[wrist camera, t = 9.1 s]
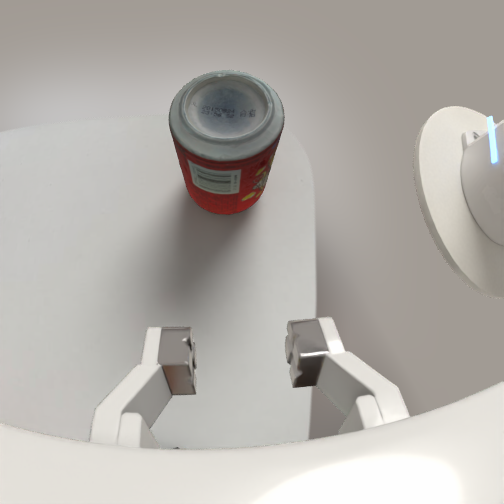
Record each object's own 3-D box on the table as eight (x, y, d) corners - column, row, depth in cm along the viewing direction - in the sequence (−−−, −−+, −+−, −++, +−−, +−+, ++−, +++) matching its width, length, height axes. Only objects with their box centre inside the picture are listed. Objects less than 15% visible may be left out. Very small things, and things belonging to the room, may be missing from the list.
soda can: (265, 221, 29) (291, 156, 17) (185, 220, 28) (158, 155, 16) (263, 151, 30) (283, 64, 18) (189, 151, 30) (172, 63, 17)
